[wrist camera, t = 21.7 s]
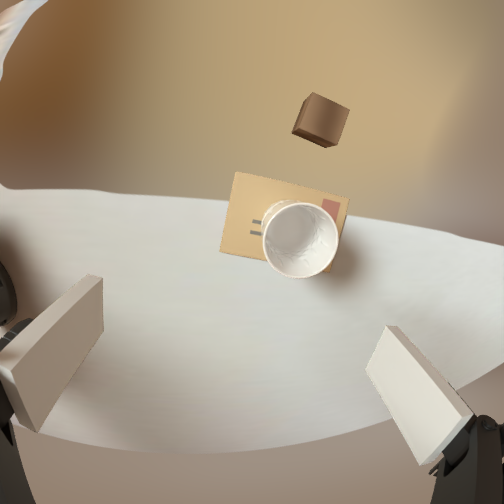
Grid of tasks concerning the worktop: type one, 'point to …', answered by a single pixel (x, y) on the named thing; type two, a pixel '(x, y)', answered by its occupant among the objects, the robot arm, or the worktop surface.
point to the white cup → (298, 238)
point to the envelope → (258, 201)
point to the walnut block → (320, 121)
